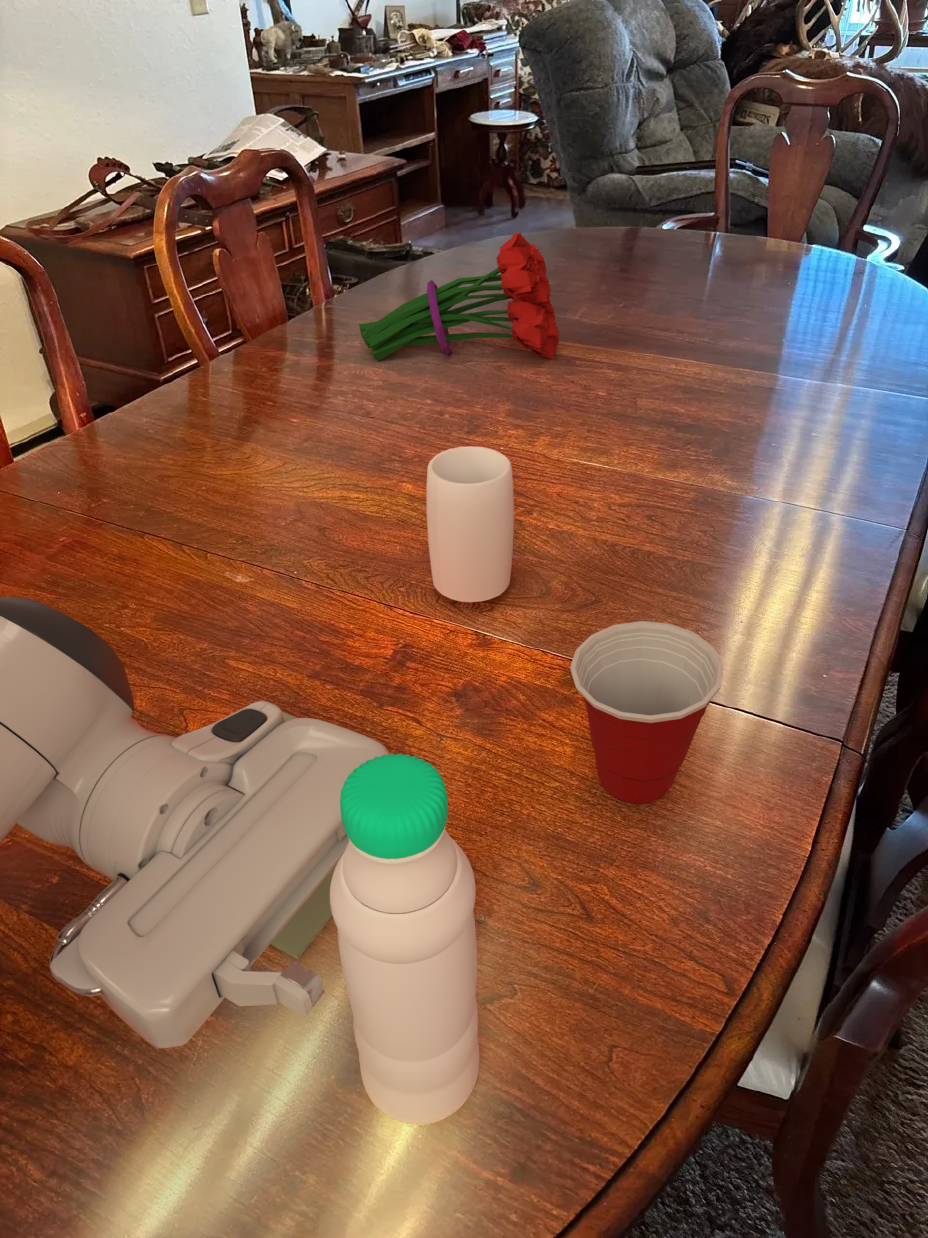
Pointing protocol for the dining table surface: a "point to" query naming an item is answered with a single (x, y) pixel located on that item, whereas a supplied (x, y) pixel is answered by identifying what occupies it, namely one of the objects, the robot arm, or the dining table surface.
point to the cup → (470, 522)
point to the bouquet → (430, 313)
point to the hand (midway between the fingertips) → (370, 925)
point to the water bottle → (407, 940)
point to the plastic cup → (644, 702)
